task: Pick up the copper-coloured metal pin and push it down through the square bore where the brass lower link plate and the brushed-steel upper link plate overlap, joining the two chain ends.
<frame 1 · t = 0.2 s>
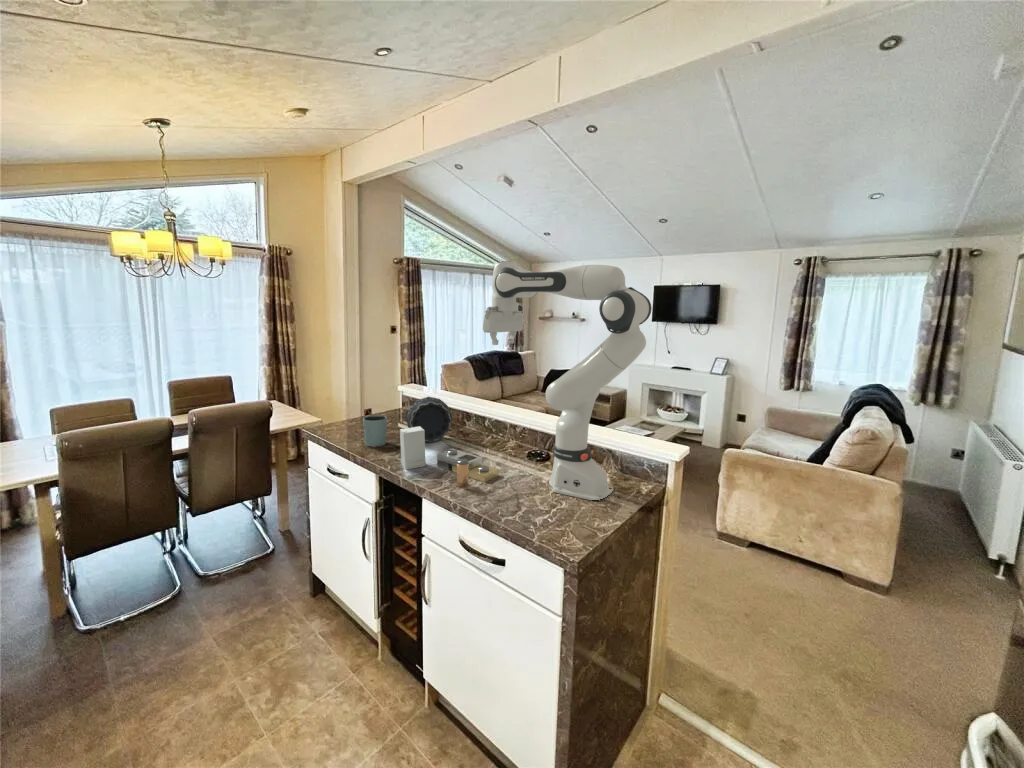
hand: (503, 344, 165), 47 cm above the counter, fingers open, 8 cm apart
skincare box: (413, 466, 169), on the counter
pin: (462, 485, 152), on the counter
chain joint: (467, 470, 166), on the counter
scalloped baking dish: (429, 440, 201), on the counter
teal plant pot: (375, 444, 194), on the counter
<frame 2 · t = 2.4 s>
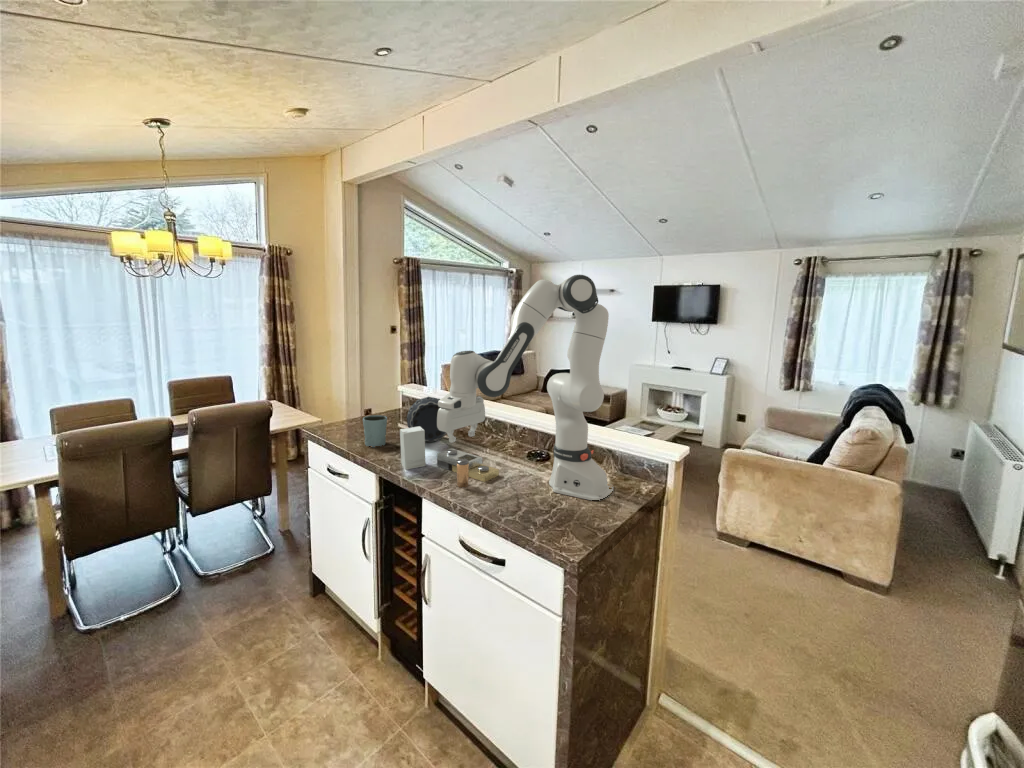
hand: (462, 439, 149), 17 cm above the counter, fingers open, 8 cm apart
nothing on the counter moved.
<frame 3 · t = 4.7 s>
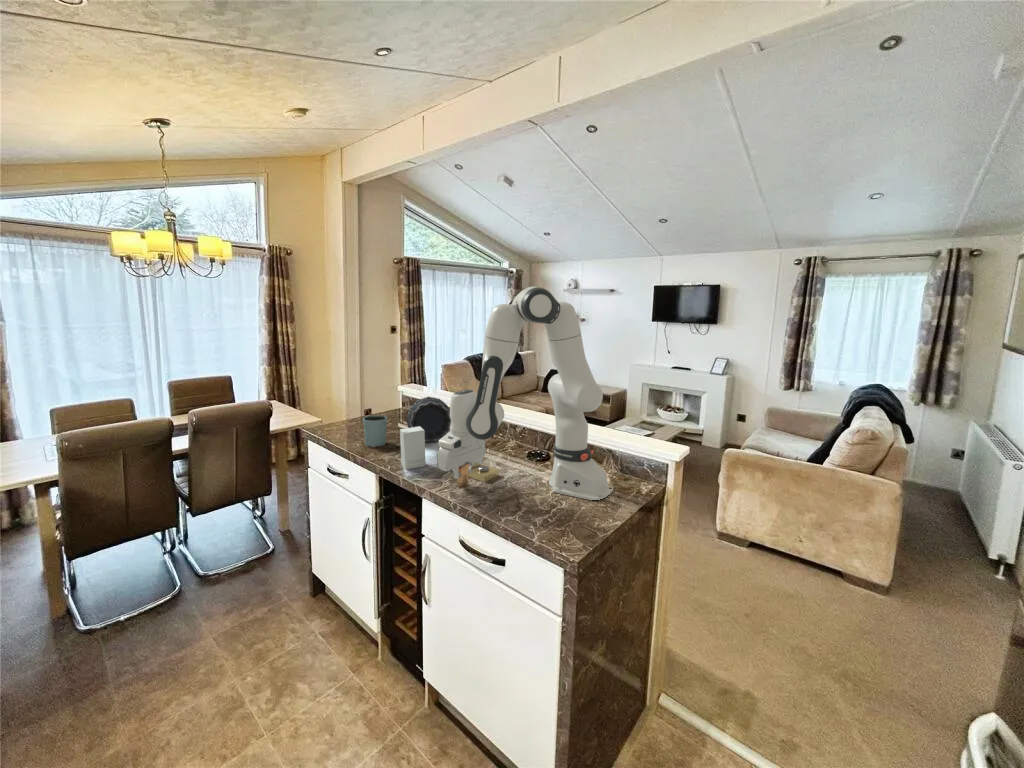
hand: (462, 475, 152), 4 cm above the counter, fingers closed on pin, 4 cm apart
pin: (462, 485, 152), on the counter, touching gripper
everything else where it was.
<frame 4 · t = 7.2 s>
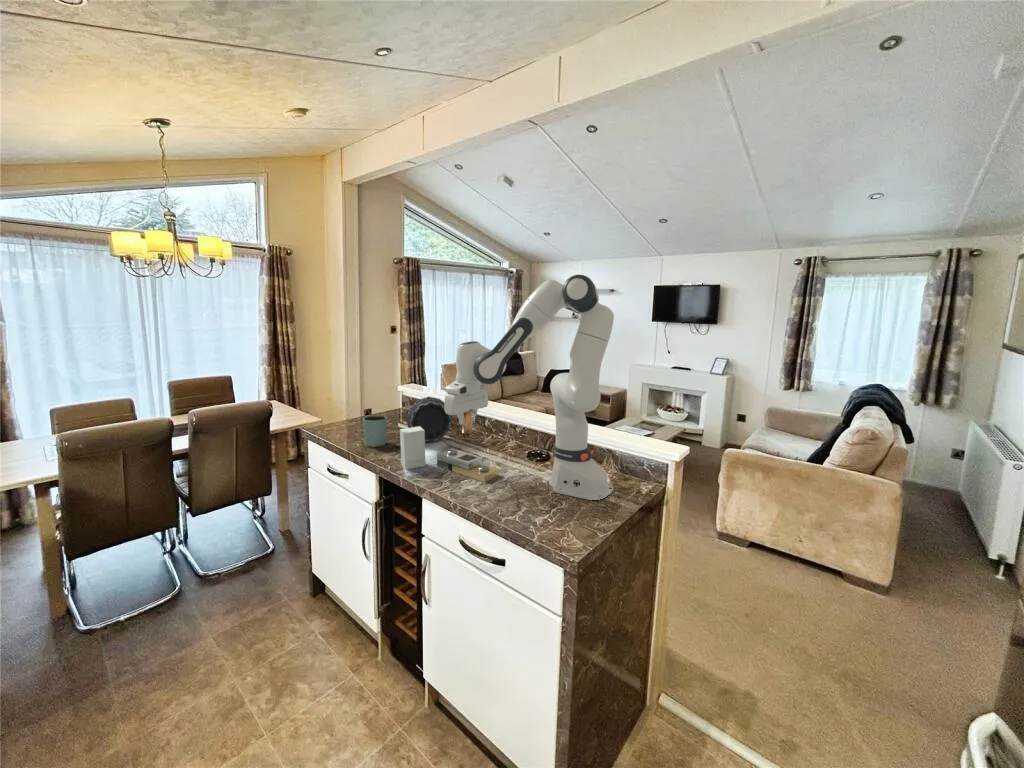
hand: (467, 422, 162), 19 cm above the counter, fingers closed on pin, 4 cm apart
pin: (466, 431, 163), point 15 cm above the counter, touching gripper
everything else where it was.
when the fingers open (6 cm above the counter, at t = 9.9 s): pin drops 2 cm, resting in chain joint.
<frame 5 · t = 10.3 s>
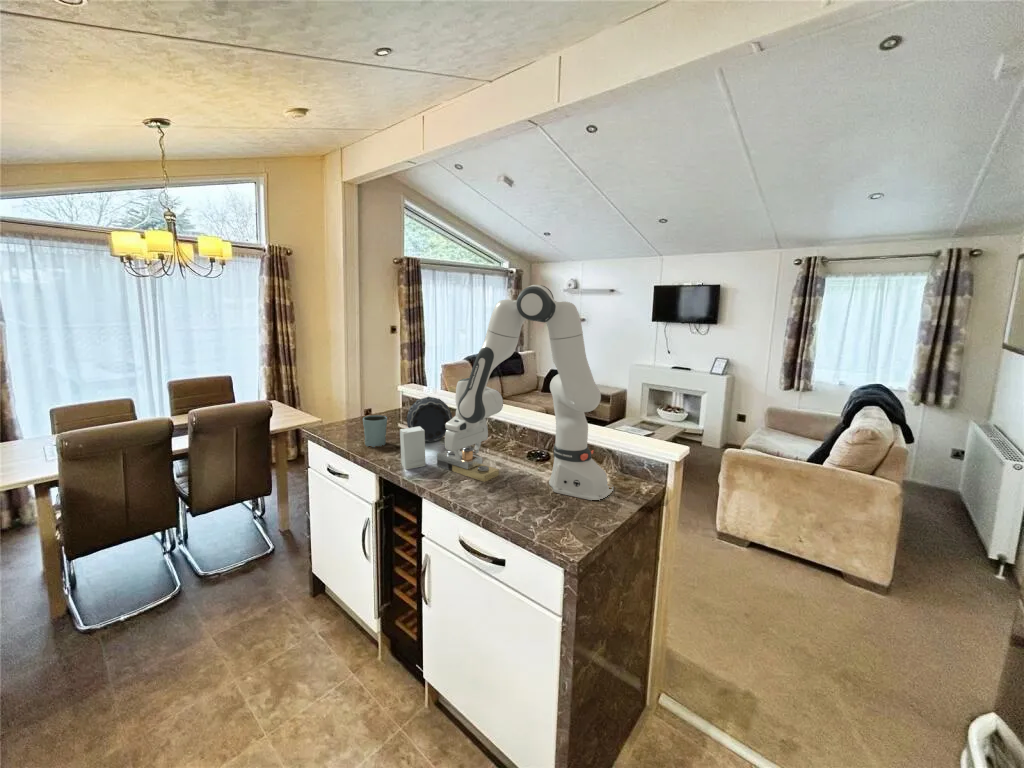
hand: (467, 456, 165), 6 cm above the counter, fingers open, 8 cm apart
pin: (467, 470, 166), resting in chain joint
everything else where it was.
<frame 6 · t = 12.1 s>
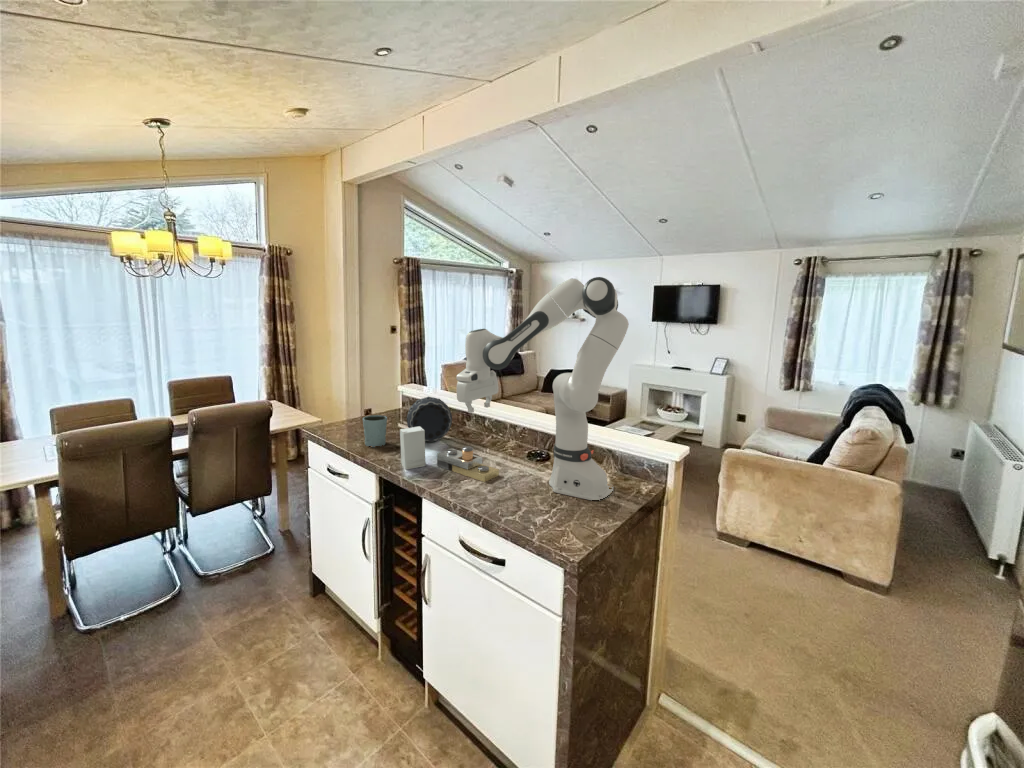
hand: (479, 409, 164), 23 cm above the counter, fingers open, 8 cm apart
nothing on the counter moved.
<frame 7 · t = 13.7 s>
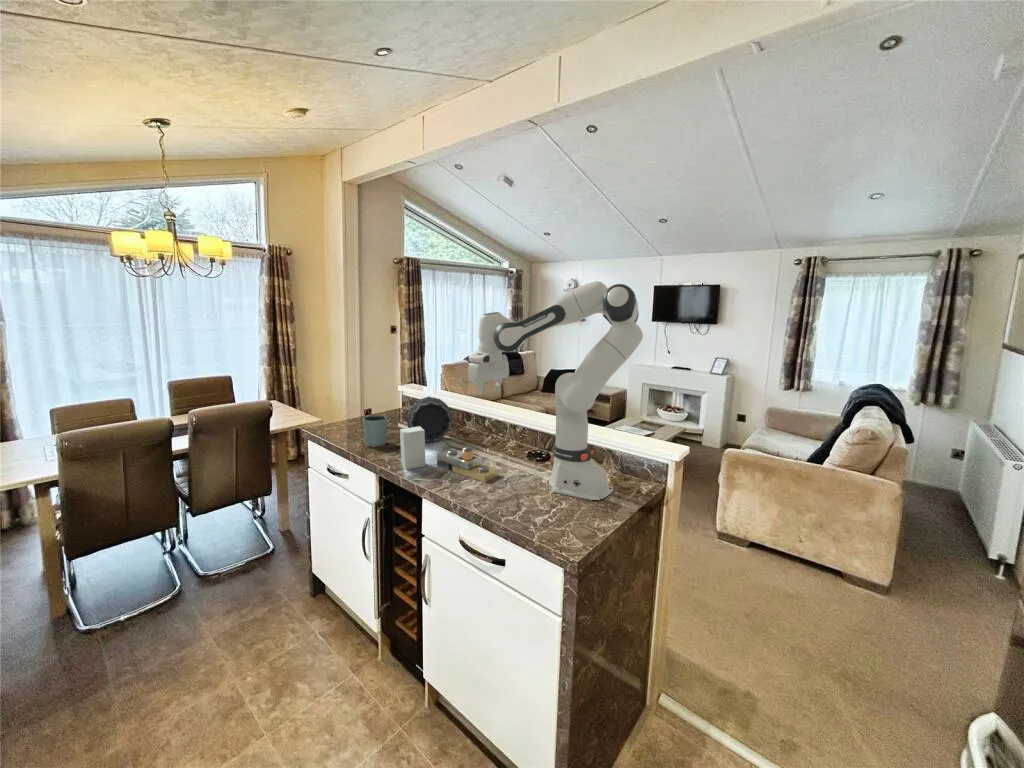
hand: (489, 392, 167), 29 cm above the counter, fingers open, 8 cm apart
nothing on the counter moved.
at the end: pin 0.1 cm off-centre on the chain joint, point 0.0 cm above the chain joint's base; pin tilted 0°; the gripper is holding nothing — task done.
